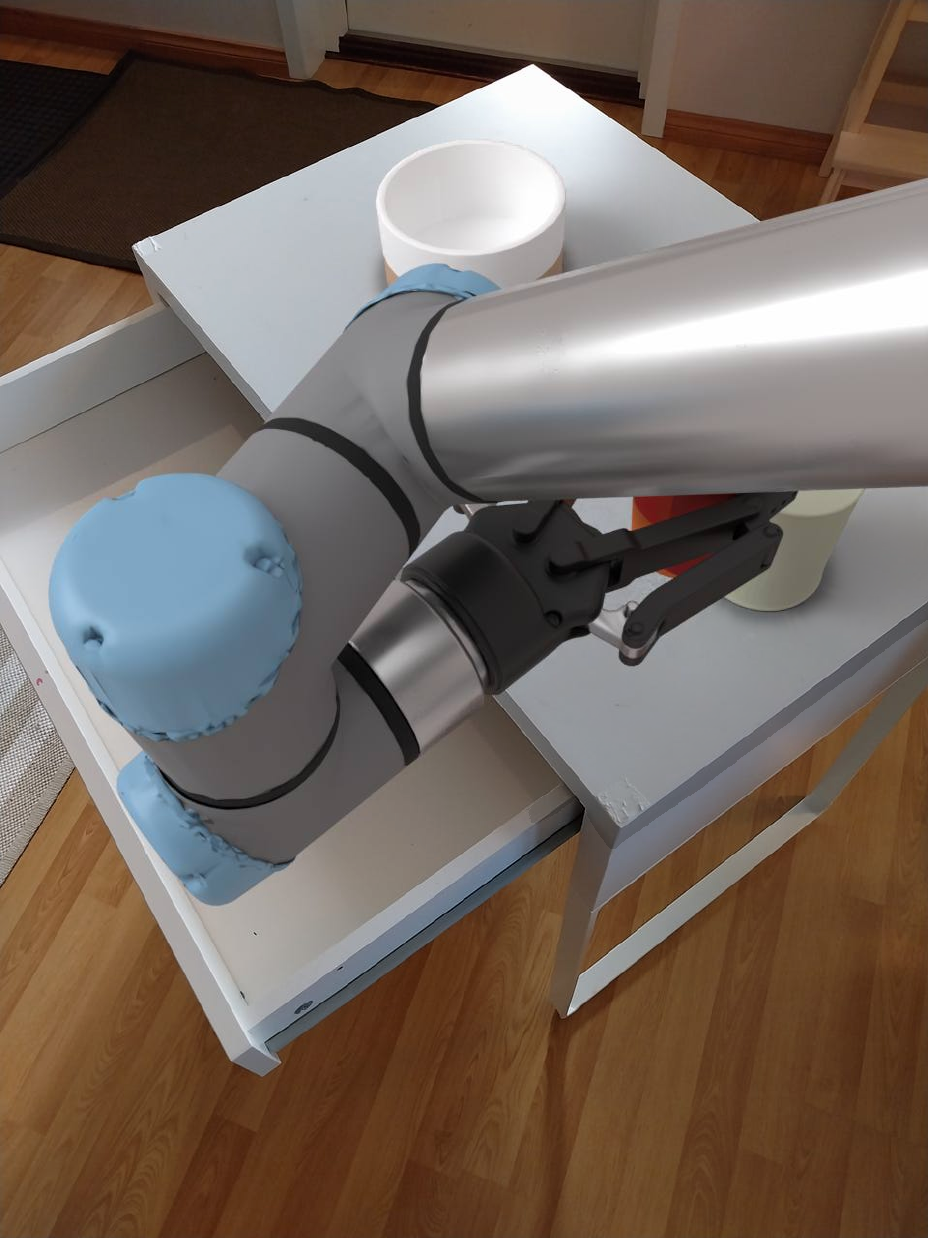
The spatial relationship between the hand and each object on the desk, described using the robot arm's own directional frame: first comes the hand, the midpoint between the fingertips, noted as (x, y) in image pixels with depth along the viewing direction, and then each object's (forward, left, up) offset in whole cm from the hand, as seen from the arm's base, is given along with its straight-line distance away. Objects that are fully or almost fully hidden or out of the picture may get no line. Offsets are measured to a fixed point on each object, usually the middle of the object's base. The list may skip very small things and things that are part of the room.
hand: (765, 396), depth 51 cm
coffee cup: (0, +5, -9) cm, 10 cm away
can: (0, -7, -22) cm, 23 cm away
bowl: (+41, -13, -22) cm, 48 cm away
